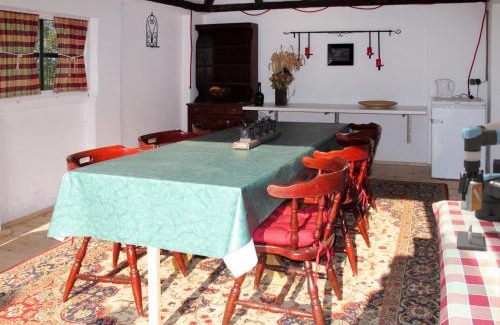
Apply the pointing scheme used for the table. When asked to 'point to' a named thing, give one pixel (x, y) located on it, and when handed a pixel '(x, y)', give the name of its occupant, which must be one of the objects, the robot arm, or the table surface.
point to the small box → (473, 197)
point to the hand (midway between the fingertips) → (471, 205)
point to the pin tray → (474, 241)
